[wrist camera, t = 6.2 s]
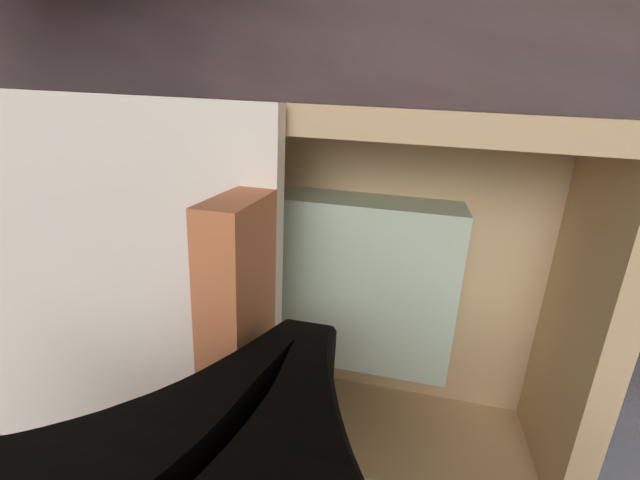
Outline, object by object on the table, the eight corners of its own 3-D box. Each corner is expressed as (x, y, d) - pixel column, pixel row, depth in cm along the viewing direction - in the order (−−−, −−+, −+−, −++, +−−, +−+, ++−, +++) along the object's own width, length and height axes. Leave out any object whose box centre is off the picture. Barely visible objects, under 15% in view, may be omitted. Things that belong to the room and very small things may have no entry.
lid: (278, 484, 14) (241, 584, 11) (-60, 404, 16) (-162, 467, 14) (286, 102, 10) (232, 100, 7) (-153, 80, 13) (-320, 72, 10)
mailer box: (530, 420, 17) (575, 545, 12) (216, 363, 20) (150, 446, 15) (606, 118, 13) (714, 124, 9) (207, 98, 16) (115, 93, 11)
